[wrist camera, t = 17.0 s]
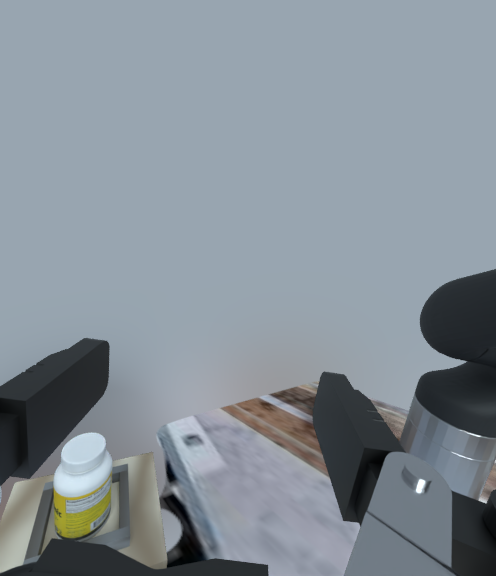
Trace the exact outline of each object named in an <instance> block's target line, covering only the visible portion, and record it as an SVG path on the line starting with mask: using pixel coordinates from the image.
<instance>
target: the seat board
mask: <svg viewBox="0 0 496 576" xmlns="http://www.w3.org/2000/svg"><path fill="white" fill-rule="evenodd" d="M54 475H55V474H52V475H47V476H43V477H39V478H35V479H30V480H26V481H21V482H16V483H15V484H14V487H13V490H12V492H11V495H10V498H9V500H8V503H7V505H6V508H5V511H4V513H3V516H2V518H1V521H0V573H2V572H4V571H7V570H9V569H12V568H14V567H17V566H21V565H24V564H27V563H31V562H36V561H37V560H38V559H39V557H40V556H41V554H42V553H43V551H44V550H45V548H46V546H47V545H48V543H49V542H50V540H51V539H52V538H55V539H58V537H57V535H56V533H55V524H54V489H53V481H54ZM81 542H87V543H95V544H103V545H107V546H109V547H111V548H113V549H115V550H117V551H119V552H121V553H123V554H125V555H127V556H129V557H131V558H132V559H134V560H136V561H138V562H140V563H142V564H144V565H146V566H148V567H150V568H153V569H164V568H167V553H166V546H165V539H164V531H163V524H162V516H161V509H160V502H159V494H158V487H157V479H156V472H155V465H154V458H153V452H150V453H146V454H141V455H137V456H132V457H128V458H123V459H119V460H115V461H112V493H111V511H110V515H109V518H108V520H107V522H106V523H105V525H104V526H103V527H102V529H101V530H100V531H99V532H98V533H97V534H95V535H94V536H93V537H91V538H90V539H87V540H84V541H81Z"/></svg>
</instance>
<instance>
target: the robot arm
mask: <svg viewBox="0 0 496 576" xmlns="http://www.w3.org/2000/svg"><path fill="white" fill-rule="evenodd" d="M420 327H421V331H422V333H423V336H424V338H425V340H426V341H427V342H428V344H429V345H430V346H431V347H432V348H434V349H435V350H437V351H438V352H439V353H442V354H444V355H446V356H449V357H452V358H455V359H460V360H465V361H467V362H466V363H464V364H462V365H460V366H457V367H454V368H450V369H445V370H438V371H432V372H427V373H425V374H424V375H423V376H421V378H420V379H419V382H418V385H417V388H416V391H415V394H414V397H413V400H412V403H411V407H410V410H409V413H408V416H407V419H406V422H405V425H404V429H403V432H402V435H401V438H400V441H398V440H397V439H396V437H395V436H394V434H393V433H392V431H391V430H390V428H389V427H388V425H387V424H386V422H384V420H383V418H382V417H381V415H380V414H379V413H377V409H376V408H375V406H374V405H373V404H372V402H371V401H370V400H369V399H368V398H367V397H366V396H365V395H363V394H362V393H361V392H360V391H359V390H354V389H353V387H352V386H351V384H350V382H349V381H348V379H347V378H346V376H345V375H344V374H337V373H330V372H323V373H322V375H321V377H320V382H319V386H318V390H317V395H316V399H315V403H314V408H313V425H314V428H315V432H316V435H317V438H318V441H319V444H320V448H321V451H322V454H323V457H324V460H325V464H326V467H327V470H328V473H329V476H330V480H331V483H332V486H333V489H334V492H335V496H336V499H337V502H338V505H339V508H340V512H341V515H342V518H343V521H350V522H358V523H359V524H360V527H361V528H360V531H359V533H358V536H357V539H356V542H355V545H354V548H353V551H352V554H351V556H350V559H349V562H348V565H347V568H346V571H345V574H344V576H496V490H493V491H492V492H491V494H490V497H489V499H488V501H487V504H485V503H483V502H480V501H478V500H479V497H480V495H481V493H482V490H483V488H484V486H485V483H486V481H487V479H488V476H489V474H490V471H491V469H492V467H493V464H494V462H495V460H496V269H494V270H491V271H487V272H483V273H479V274H476V275H472V276H468V277H464V278H460V279H456V280H453V281H451V282H448V283H446V284H444V285H442V286H441V287H440V288H438V289H437V290H436V291H435V292H434V293H433V294H432V295H431V296H430V297H429V299H428V300H427V301H426V303H425V305H424V307H423V309H422V312H421V315H420ZM108 377H109V343H108V342H107V341H104V340H96V339H89V338H84V339H82V340H81V341H79V342H78V343H76V344H75V345H73V346H72V347H70V348H69V349H65V350H63V351H60V352H57V353H54V354H51V355H49V356H48V357H46V358H44V359H43V360H41V361H40V362H38V363H37V364H36V365H33V366H32V367H30V368H29V369H27V370H26V371H25V372H22V373H21V374H19V375H18V376H16V377H14V378H13V379H11V380H10V381H8V382H7V383H5V384H3V385H2V386H0V502H1V485H2V484H3V483H4V482H5V481H6V480H7V479H8V478H9V477H10V476H11V477H19V478H27V479H30V478H31V476H32V475H33V474H34V473H35V472H36V471H37V470H38V469H39V467H40V466H41V465H42V464H43V463H44V462H45V461H46V459H47V458H48V457H49V456H50V455H51V454H52V453H53V452H54V450H55V449H56V448H57V447H58V446H59V445H60V443H61V442H62V441H63V440H64V439H65V438H66V437H67V435H68V434H69V433H70V432H71V431H72V430H73V429H74V428H75V427H76V425H77V424H78V423H79V422H80V421H81V420H82V419H83V418H84V416H85V415H86V414H87V413H88V412H89V411H90V410H91V408H92V407H93V406H94V405H95V404H96V403H97V402H98V400H99V399H100V398H101V397H102V396H103V394H104V392H105V390H106V387H107V384H108ZM0 576H268V565H264V564H256V563H248V562H240V561H232V560H224V559H216V558H215V559H210V560H205V561H200V562H195V563H190V564H185V565H180V566H174V567H169V568H164V569H153V568H150V567H148V566H146V565H144V564H142V563H140V562H138V561H136V560H134V559H132V558H131V557H129V556H127V555H125V554H123V553H121V552H119V551H117V550H115V549H113V548H111V547H109V546H107V545H103V544H95V543H87V542H79V541H71V540H63V539H55V538H52V539H51V540H50V542H49V543H48V545H47V546H46V548H45V550H44V551H43V553H42V554H41V556H40V557H39V559H38V560H37V561H36V562H31V563H27V564H24V565H21V566H17V567H14V568H12V569H9V570H7V571H4V572H2V573H0Z"/></svg>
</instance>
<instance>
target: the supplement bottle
mask: <svg viewBox="0 0 496 576" xmlns="http://www.w3.org/2000/svg"><path fill="white" fill-rule="evenodd" d="M53 489H54V524H55V533H56V535H57V537H58V539H63V540H71V541H79V542H81V541H84V540H87V539H90V538H91V537H93V536H94V535H95V534H97V533H98V532H99V531H100V530H101V529H102V527H103V526H104V525H105V523H106V522H107V520H108V518H109V515H110V511H111V493H112V458H111V455H110V453H109V452H108V451H107V450H106V441H105V438H104V437H103V436H102V435H100V434H98V433H85V434H81V435H79V436H76V437H74V438H73V439H71V440H70V441H69V442H68V443H67V444H66V445H65V446H64V448H63V450H62V453H61V463H60V465H59V466H58V468H57V470H56V472H55V475H54V481H53Z"/></svg>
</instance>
